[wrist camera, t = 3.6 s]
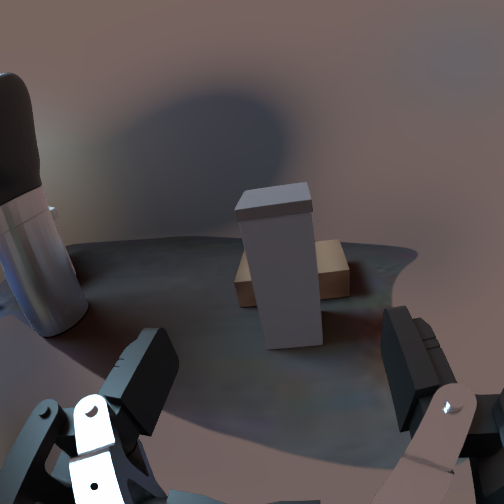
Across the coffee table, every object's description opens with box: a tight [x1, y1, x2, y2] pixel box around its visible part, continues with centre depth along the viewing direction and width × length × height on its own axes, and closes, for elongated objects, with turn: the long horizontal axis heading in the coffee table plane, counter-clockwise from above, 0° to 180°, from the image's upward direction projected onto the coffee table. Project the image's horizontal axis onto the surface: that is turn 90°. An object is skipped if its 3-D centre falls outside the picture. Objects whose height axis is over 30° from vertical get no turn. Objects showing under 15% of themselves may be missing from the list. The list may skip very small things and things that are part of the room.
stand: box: [234, 239, 350, 307], centre depth 31 cm, size 11×7×3 cm, turn 83°
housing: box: [234, 182, 323, 349], centre depth 22 cm, size 5×5×12 cm
